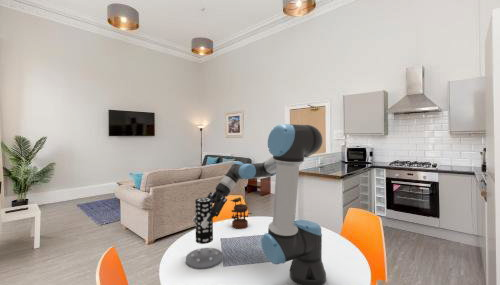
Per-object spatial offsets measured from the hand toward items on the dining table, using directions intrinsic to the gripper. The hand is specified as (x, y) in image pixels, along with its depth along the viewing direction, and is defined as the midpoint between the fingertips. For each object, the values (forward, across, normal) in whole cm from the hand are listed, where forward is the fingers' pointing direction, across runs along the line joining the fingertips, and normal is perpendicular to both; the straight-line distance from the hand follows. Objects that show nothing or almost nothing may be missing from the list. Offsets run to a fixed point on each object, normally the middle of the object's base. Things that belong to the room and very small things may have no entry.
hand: (198, 224), depth 115 cm
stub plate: (+10, 0, -15) cm, 18 cm away
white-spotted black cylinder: (+4, 0, -9) cm, 10 cm away
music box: (-18, +23, -44) cm, 53 cm away
